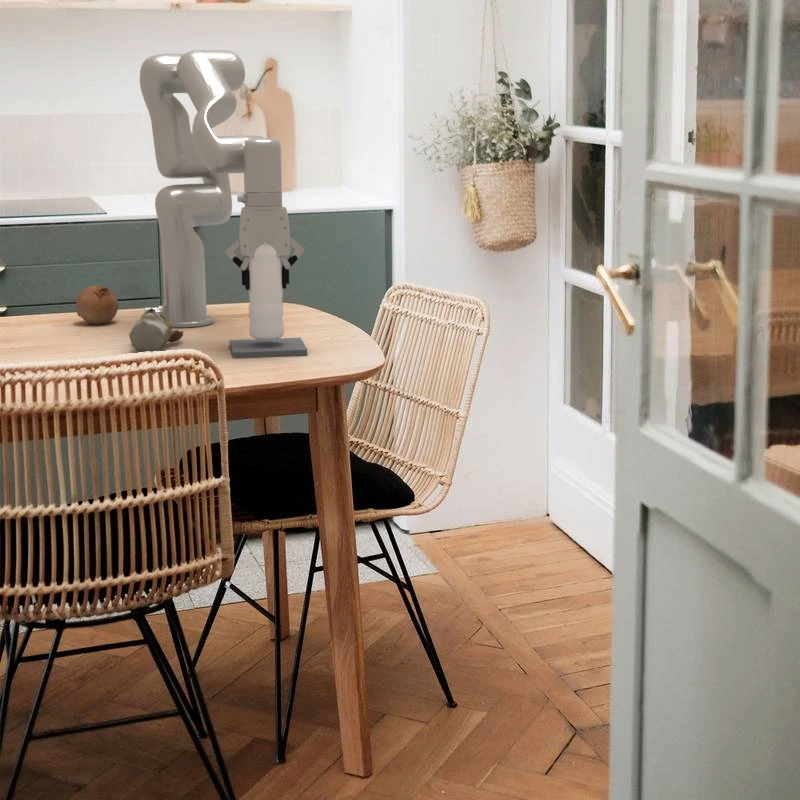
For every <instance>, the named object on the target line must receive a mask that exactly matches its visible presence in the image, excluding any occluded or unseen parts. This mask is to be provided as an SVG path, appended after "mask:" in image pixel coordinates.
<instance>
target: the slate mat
mask: <svg viewBox="0 0 800 800" xmlns="http://www.w3.org/2000/svg"><path fill="white" fill-rule="evenodd" d="M229 349H230V352H231V355H232V358H233V359H245V358H246V359H248V358H249V359H251V358H275V357H277V358H278V357H301V356H308V348H307V346H306V344H305V343H304V341H303V340H302V337H280V338H277V339H270V340H261V339H254V338H252V339H251V338H250V339H230V340H229Z"/></svg>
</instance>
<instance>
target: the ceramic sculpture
mask: <svg viewBox="0 0 800 800" xmlns="http://www.w3.org/2000/svg"><path fill="white" fill-rule="evenodd" d="M128 335H129V340H130V343H131V344H132V345H131V346H133V348H134V349H135V350H136V351H139V352H141V351H155V350H158V351H159V350H161V348H162V347H163V346H164V345H166V344H167V343H172V344H173V343H176V342H178V341H180V340H181V338H182V337H183V335H184V331H182V330H180V331H179V329H172V327H171V326H170V324H169V321H168V319H167V318H166V317H165V316H164V315H162V314H158V313H157V312H156V311H155V310H154V309H149V310H148V311H147V312H145V311H144V313H142V315H141V317H140V318H139V320H138V321H137V322H136V323H135V325H134V326H133V327H132V328H131V331H130V332H129V334H128Z"/></svg>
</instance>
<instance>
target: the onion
mask: <svg viewBox="0 0 800 800" xmlns="http://www.w3.org/2000/svg"><path fill="white" fill-rule="evenodd" d="M118 301H119V300H118V298H117V296H116V295H115V293H114V292H113V291H112V290H110V289H109V288H107V287H105V286H104V285H101V284H100V285H91V286H88V287H86V288H84V289H83V290H82V291H81V292H79V294H78V296H77V299H76V303H75V305H76V310H77V311H76V314H77V316H78V317H79V318H81V319H82V320H84V321H85V322H86V323H88V325H105V324H108V323H111V322H112V321H113V319H114V318H115V317H116V316H117V313H118V309H119V302H118Z"/></svg>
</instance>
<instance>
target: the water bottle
mask: <svg viewBox="0 0 800 800" xmlns="http://www.w3.org/2000/svg"><path fill="white" fill-rule="evenodd" d="M264 244H266V243H264ZM282 265H283V263H282V261H281V259H280V257H277V256H276V251H275V249H274V248H273V247H272V246H270V245H267V244H266V245H261V246H259V247H258V248H257V249H256V251H255V257H254V258H250V262H249V264H248V266H247V267H248V271H249V285H250V289H249V290H248V298H249V305H248V315H249V336H250V337H251V338H252V339H261V340H270V339H277V338H283V336H284V335H285V327H284V325H285V324H284V318H283V317H284V304H283V290H284V288H283V287H282Z"/></svg>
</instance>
